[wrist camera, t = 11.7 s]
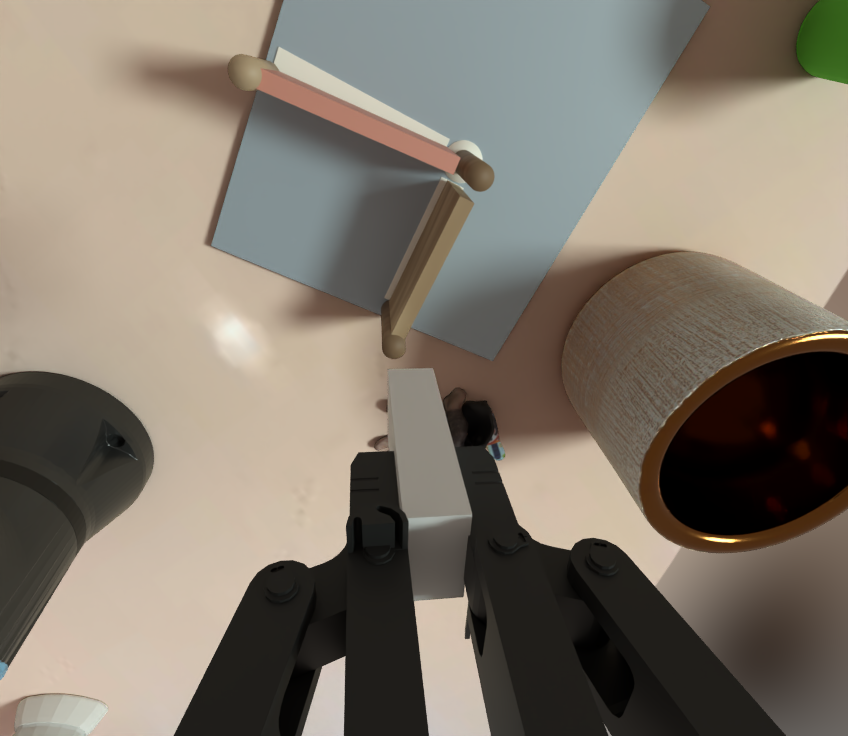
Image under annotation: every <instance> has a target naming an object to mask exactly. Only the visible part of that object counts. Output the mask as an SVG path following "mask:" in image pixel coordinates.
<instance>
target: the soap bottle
mask: <svg viewBox="0 0 848 736" xmlns="http://www.w3.org/2000/svg"><path fill="white" fill-rule="evenodd" d="M107 711H108V707H107V706H106V704H104V703H103V702H101V701H99V700H95V699H91V698H87V697H83V696H76V695H69V694H45V695H37V696H30V697H27V698H25V699H23V700H21V701H20V703H19V704H18V707H17V711H16V716H15V723H14V728H15V732H16V733H15V734H14V735H13V736H88V735H89V734H90V733H91V732H92V730H93V729H94V728H95V727H96V726H97V724H98V723H99V722H100V721H101V719H102V718H103V717H104V715H105V714H106V712H107Z"/></svg>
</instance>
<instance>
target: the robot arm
mask: <svg viewBox="0 0 848 736" xmlns="http://www.w3.org/2000/svg"><path fill="white" fill-rule="evenodd" d="M388 445H389V451H382V452H360V453H358V454H357V456H356V457H355V459H354V461H353V462H352V464H351V478H350V480H351V482H350V516H349V517H348V521H347V524H346V534H347V544H346V546H345V548H344V549H343V550H342V551H341V552H340V554H338V555H337V556H336V557H334V558H333V559H332V560H329V561H327V562H325V563H323V564H320V565H317V566H315V567H312V568H308V567H307V566H306V565H305V564H303V563H300V562H297V561H293V560H289V561H279V562H276V563H273V564H270V565H268V566H266V567H265V568H264V569H262V570H261V571H259V572H258V573H257V574H256V576H255V577H254V578H253V580H252V581H251V582H250V584H249V586H248V588H247V590H246V592H245V594H244V596H243V598H242V600H241V602H240V604H239V606H238V608H237V610H236V612H235V614H234V616H233V618H232V620H231V622H230V624H229V626H228V628H227V630H226V632H225V634H224V636H223V638H222V640H221V642H220V644H219V646H218V648H217V650H216V652H215V654H214V656H213V658H212V660H211V662H210V664H209V666H208V668H207V670H206V672H205V674H204V676H203V678H202V680H201V682H200V684H199V686H198V688H197V690H196V692H195V694H194V696H193V698H192V700H191V702H190V704H189V706H188V708H187V710H186V712H185V714H184V716H183V718H182V720H181V722H180V724H179V726H178V728H177V730H176V732H175V734H174V736H301V735H302V732H303V729H304V725H305V722H306V719H307V715H308V712H309V709H310V705H311V702H312V699H313V695H314V692H315V689H316V686H317V682H318V679H319V676H320V672H321V669H322V666H324V665H326V664H328V663H331V662H333V661H335V660H337V659H340V658H342V657H344V656H346V659H345V710H344V736H429V733H428V724H427V715H426V706H425V697H424V688H423V679H422V670H421V661H420V652H419V643H418V634H417V625H416V616H415V607H414V601H419V600H431V599H444V598H456V597H463V596H464V586H465V587H466V592H467V596H468V609H467V618H466V626H465V639H470V634H471V639H472V644H473V649H474V654H475V659H476V664H477V668H478V673H479V678H480V683H481V688H482V693H483V698H484V703H485V708H486V713H487V718H488V723H489V728H490V732H491V736H608V733H607V731H606V728H605V726H606V727H607V729H608V731H609V732H610V734H611V735H612V736H786V735H785V734H784V733H783V732H782V731H781V729H780V728H779V727H778V726H777V725H776V724H775V723H774V722H773V720H772V719H771V718H770V717H769V716H768V715H767V714H766V712H764V710H763V709H762V708H761V707H760V706H759V704H758V703H757V702H756V701H755V700H754V699H753V698H752V696H751V695H750V694H749V693H748V692H747V691H746V690H745V689H744V687H743V686H742V685H741V684H740V683H739V682H738V681H737V679H736V678H735V677H734V676H733V675H732V674H731V673H730V672H729V670H728V669H727V668H726V667H725V666H724V665H723V663H722V662H721V661H720V660H719V659H718V658H717V657H716V656H715V655H714V653H713V652H712V651H711V650H710V649H709V648H708V646H706V644H705V643H704V642H703V641H702V640H701V638H699V636H698V635H697V634H696V633H695V632H694V631H693V629H692V628H691V627H690V626H689V625H688V624H687V623H686V621H685V620H684V619H683V618H682V617H681V616H680V615H679V614H678V612H677V611H676V610H675V609H674V608H673V607H672V605H671V604H670V603H669V602H668V601H667V600H666V599H665V598H664V596H663V595H662V594H661V593H660V592H659V591H658V590H657V588H656V587H655V586H654V585H653V584H652V583H651V582H650V580H649V579H648V578H647V577H646V576H645V575H644V574H643V572H642V571H641V570H640V569H639V568H638V567H637V566H636V565H635V563H634V562H633V561H632V560H631V559H630V558H629V557H628V555H627V554H626V553H625V552H623V551H622V550H621V549H620V548H619V547H618V546H616V545H614V544H612V543H610V542H608V541H606V540H601V539H596V538H588V539H582V540H581V541H579V542H577V543H575V545H574V546H573V548H572V550H566V549H561V548H556V547H551V546H548V545H544V544H541V543H539V542H537V541H535V540H533V539H532V538H531V536H530V535H529V533H528V532H527V531H526V530H525V529H523V528H522V527H521V526H519V524H518V522H517V520H516V517H515V514H514V512H513V509H512V506H511V503H510V501H509V498H508V495H507V493H506V490H505V487H504V484H503V483H502V479H501V476H500V474H499V473H498V468H497V465H496V463H495V460H494V457H493V456H492V455H491V454H490V453H489V452H488V451H487V450H486V449H485V448H484V447H483V446H468V447H454V444H453V440H452V437H451V433H450V429H449V426H448V422H447V418H446V414H445V411H444V407H443V403H442V399H441V396H440V392H439V388H438V385H437V381H436V377H435V373H434V370H433V368H413V369H388ZM153 464H154V452H153V447H152V443H151V440H150V438H149V435H148V433H147V431H146V430H145V428H144V426H143V425H142V423H141V422H140V421H139V419H138V418H137V417H136V416H135V415H134V414H133V413H132V412H131V411H130V410H129V409H128V408H127V407H126V406H125V405H124V404H123V403H121V402H120V401H119V400H117V399H116V398H115V397H113V396H112V395H110V394H109V393H107V392H105V391H103V390H102V389H100V388H98V387H96V386H93V385H91V384H89V383H86V382H84V381H81V380H78V379H75V378H72V377H68V376H64V375H59V374H53V373H44V372H25V373H16V374H11V375H7V376H3V377H0V680H1V679H2V678H3V677H4V675H5V673H6V671H7V670H8V667H9V665H10V664H11V662H12V660H13V659H14V657H15V656H16V654H17V652H18V651H19V649H20V647H21V646H22V644H23V642H24V641H25V639H26V637H27V636H28V634H29V633H30V631H31V629H32V628H33V626H34V624H35V623H36V621H37V619H38V618H39V616H40V614H41V613H42V611H43V610H44V608H45V606H46V605H47V603H48V601H49V600H50V598H51V596H52V595H53V593H54V591H55V590H56V588H57V586H58V585H59V583H60V582H61V580H62V578H63V577H64V575H65V573H66V572H67V570H68V568H69V567H70V565H71V563H72V562H73V560H74V558H75V557H76V555H77V554H78V552H79V551H80V549H81V547H82V546H83V544H84V543H85V542H86V541H88V540H89V539H90V538H91V537H93V536H94V535H95V534H96V533H98V532H99V531H100V530H101V529H103V528H104V527H105V526H106V525H108V524H109V523H110V522H111V521H113V520H114V519H115V518H116V517H118V516H119V515H120V514H121V513H123V512H124V511H125V510H126V509H128V508H129V507H130V506H131V505H132V504H133V503H134V501H135V500H136V499H137V498H138V496H139V495H140V493H141V491H142V490H143V488H144V486H145V485H146V483H147V481H148V479H149V477H150V475H151V473H152V469H153ZM603 722H604V723H603ZM604 724H605V726H604Z"/></svg>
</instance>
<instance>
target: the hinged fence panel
mask: <svg viewBox="0 0 848 736" xmlns="http://www.w3.org/2000/svg"><path fill="white" fill-rule="evenodd" d="M228 75H229V78H230V80H231V81H232V83H233V84H234V85H235V86H236V87H237V88H239V89H241V90H245V91H254V90H260V91H263V92H265V93H267V94H269V95H272V96H274V97H276V98H279V99H281V100H283V101H285V102H288V103H290V104H292V105H295V106H297V107H299V108H302V109H304V110H306V111H308V112H311V113H313V114H315V115H318V116H320V117H322V118H324V119H327V120H329V121H331V122H334V123H336V124H338V125H340V126H343V127H345V128H347V129H350V130H352V131H354V132H356V133H359V134H361V135H363V136H366V137H368V138H370V139H372V140H375V141H377V142H379V143H382V144H384V145H386V146H389V147H391V148H393V149H395V150H398V151H400V152H402V153H405V154H407V155H409V156H411V157H414V158H416V159H418V160H421V161H423V162H425V163H427V164H430V165H432V166H434V167H437V168H439V169H441V170H443V171H446V172H448V173H450V174H453V175H454V173H455V170H456V168H457V165H458V163H459V160H460V157H459V156H458V155H457V154H455V153H454V152H453V151H452V150H450V149H449V148H448V147H446V146H444V145H442V144H440V143H437V142H435V141H433V140H431V139H429V138H426V137H424V136H422V135H420V134H417V133H415V132H413V131H411V130H409V129H406V128H404V127H402V126H400V125H397V124H395V123H393V122H391V121H389V120H386V119H384V118H382V117H380V116H378V115H375V114H373V113H371V112H369V111H366V110H364V109H362V108H360V107H358V106H355V105H353V104H351V103H349V102H347V101H344V100H342V99H340V98H338V97H335V96H333V95H331V94H329V93H327V92H324V91H322V90H320V89H318V88H315V87H313V86H311V85H309V84H307V83H304V82H302V81H300V80H298V79H296V78H293V77H291V76H289V75H287V74H284V73H282V72H280V71H279V69H278V68H277V66H276V65H275V64H274V63H272V62H271V61H268V60H264V59H260V58H256V57H252V56H248V55H244V54H239V55H236V56H234V57H233V58H232V59H231V60H230V62H229V64H228Z"/></svg>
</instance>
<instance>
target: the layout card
mask: <svg viewBox="0 0 848 736" xmlns="http://www.w3.org/2000/svg"><path fill="white" fill-rule="evenodd" d="M709 8H710V6H709V5H707V4H706V3H705V2H703V1H702V0H284V1H283V4H282V7H281V11H280V14H279V18H278V21H277V24H276V28H275V31H274V34H273V38H272V41H271V45H270V48H269V51H268V55H267V58H266V60H268V61H271V62H272V63H274V64H275V65H276V66H277V68H278V69H279V71H280V72H282V73H284V74H287V75H289V76H291V77H293V78H296V79H298V80H300V81H302V82H304V83H307V84H309V85H311V86H313V87H315V88H318V89H320V90H322V91H324V92H327V93H329V94H331V95H333V96H335V97H338V98H340V99H342V100H344V101H347V102H349V103H351V104H353V105H355V106H358V107H360V108H362V109H364V110H366V111H369V112H371V113H373V114H375V115H378V116H380V117H382V118H384V119H386V120H389V121H391V122H393V123H395V124H397V125H400V126H402V127H404V128H406V129H409V130H411V131H413V132H415V133H417V134H420V135H422V136H424V137H426V138H429V139H431V140H433V141H435V142H437V143H440V144H442V145H444V146H446V147H448V148H449V149H450V150H452V151H453V152H454V153H456V152H458V151H460V150H467V151H469V152H471V153H472V154H474V155H475V156H477V157H478V158H480V159H481V160H482V161H484V162H485V163H487V164H488V165H490V166H491V167H492V169H493V171H494V175H495V178H494V182H493V184H492V186H491V187H490V188H489V189H487V190H486V191H482V192H478V191H475V190H473V189H472V188H471V187H470V186H469V185H468V184H467V183H466V182H465V181H464V180H463V179H462V178H461V177H460V176H459V175H458V174H457V173H456V172H455V173H454V175H453V174H450V173H448V172H446V171H443V170H441V169H439V168H437V167H434V166H432V165H430V164H427V163H425V162H423V161H421V160H418V159H416V158H414V157H411V156H409V155H407V154H405V153H402V152H400V151H398V150H395V149H393V148H391V147H389V146H386V145H384V144H382V143H379V142H377V141H375V140H372V139H370V138H368V137H366V136H363V135H361V134H359V133H356V132H354V131H352V130H350V129H347V128H345V127H343V126H340V125H338V124H336V123H334V122H331V121H329V120H327V119H324V118H322V117H320V116H318V115H315V114H313V113H311V112H308V111H306V110H304V109H302V108H299V107H297V106H295V105H292V104H290V103H288V102H285V101H283V100H281V99H279V98H276V97H274V96H272V95H269V94H267V93H265V92H263V91H260V90H257V92H256V95H255V99H254V102H253V105H252V109H251V112H250V116H249V119H248V122H247V126H246V129H245V132H244V136H243V139H242V143H241V146H240V149H239V153H238V156H237V160H236V163H235V166H234V170H233V173H232V176H231V180H230V183H229V187H228V190H227V193H226V197H225V200H224V204H223V207H222V210H221V214H220V217H219V220H218V224H217V227H216V231H215V234H214V237H213V241H212V244H211V246H213V247H215V248H217V249H220V250H222V251H225V252H227V253H230V254H232V255H235V256H237V257H239V258H242V259H244V260H247V261H249V262H252V263H254V264H257V265H259V266H261V267H264V268H266V269H269V270H271V271H274V272H276V273H279V274H281V275H283V276H286V277H288V278H291V279H293V280H296V281H298V282H301V283H303V284H305V285H308V286H310V287H313V288H315V289H318V290H320V291H323V292H325V293H327V294H330V295H332V296H335V297H337V298H340V299H342V300H345V301H347V302H349V303H352V304H354V305H357V306H359V307H362V308H364V309H367V310H369V311H371V312H374V313H376V314H379V315H381V307H382V305H383V303H384V302H386V301H388V300H390V298H391V296H392V294H393V292H394V290H395V288H396V286H397V284H398V282H399V280H400V278H401V276H402V273H403V271H404V269H405V267H406V265H407V263H408V261H409V259H410V257H411V255H412V253H413V251H414V248H415V246H416V244H417V242H418V240H419V238H420V236H421V234H422V232H423V230H424V228H425V226H426V223H427V221H428V219H429V217H430V215H431V213H432V211H433V209H434V207H435V205H436V203H437V201H438V198H439V196H440V194H441V192H442V190H443V188H444V186H445V184H446V182H447V180H448V181H450V182H452V183H454V184H456V185H458V186H460V187H461V188H462V190H463V191H464V192H465V193H466V194H467V195H468V197H469V198H470V199H471V200H472V201H473V202H474V203H475V204H474V206H473V208H472V209H471V211H470V213H469V215H468V217H467V219H466V221H465V223H464V225H463V227H462V229H461V231H460V233H459V235H458V237H457V239H456V241H455V243H454V245H453V246H452V248H451V250H450V252H449V254H448V256H447V258H446V260H445V262H444V264H443V266H442V268H441V270H440V272H439V274H438V276H437V278H436V280H435V282H434V283H433V285H432V287H431V289H430V291H429V293H428V295H427V297H426V299H425V301H424V303H423V305H422V307H421V309H420V311H419V313H418V315H417V317H416V318H415V320H414V322H413V324H412V326H411V328H413V329H415V330H418V331H420V332H423V333H425V334H428V335H430V336H432V337H435V338H437V339H440V340H442V341H445V342H447V343H450V344H452V345H454V346H457V347H459V348H462V349H464V350H467V351H469V352H472V353H474V354H476V355H479V356H481V357H484V358H486V359H489V360H491V361H493V360H494V358H495V357H496V355H497V353H498V352H499V350H500V349H501V347H502V345H503V344H504V342H505V340H506V339H507V337H508V335H509V334H510V332H511V331H512V329H513V327H514V326H515V324H516V322H517V321H518V319H519V318H520V316H521V314H522V313H523V311H524V309H525V308H526V306H527V305H528V303H529V301H530V300H531V298H532V296H533V295H534V293H535V291H536V290H537V288H538V287H539V285H540V283H541V282H542V280H543V278H544V277H545V275H546V274H547V272H548V270H549V269H550V267H551V265H552V264H553V262H554V261H555V259H556V257H557V256H558V254H559V252H560V251H561V249H562V247H563V246H564V244H565V243H566V241H567V239H568V238H569V236H570V234H571V233H572V231H573V230H574V228H575V226H576V225H577V223H578V221H579V220H580V218H581V217H582V215H583V213H584V212H585V210H586V208H587V207H588V205H589V203H590V202H591V200H592V199H593V197H594V195H595V194H596V192H597V190H598V189H599V187H600V186H601V184H602V182H603V181H604V179H605V177H606V176H607V174H608V173H609V171H610V169H611V168H612V166H613V164H614V163H615V161H616V159H617V158H618V156H619V155H620V153H621V151H622V150H623V148H624V146H625V145H626V143H627V142H628V140H629V138H630V137H631V135H632V133H633V132H634V130H635V129H636V127H637V125H638V124H639V122H640V120H641V119H642V117H643V115H644V114H645V112H646V111H647V109H648V107H649V106H650V104H651V102H652V101H653V99H654V98H655V96H656V94H657V93H658V91H659V89H660V88H661V86H662V85H663V83H664V81H665V80H666V78H667V76H668V75H669V73H670V71H671V70H672V68H673V67H674V65H675V63H676V62H677V60H678V58H679V57H680V55H681V54H682V52H683V50H684V49H685V47H686V45H687V44H688V42H689V41H690V39H691V37H692V36H693V34H694V32H695V31H696V29H697V27H698V26H699V24H700V23H701V21H702V19H703V18H704V16H705V14H706V13H707V11H708V10H709Z"/></svg>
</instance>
